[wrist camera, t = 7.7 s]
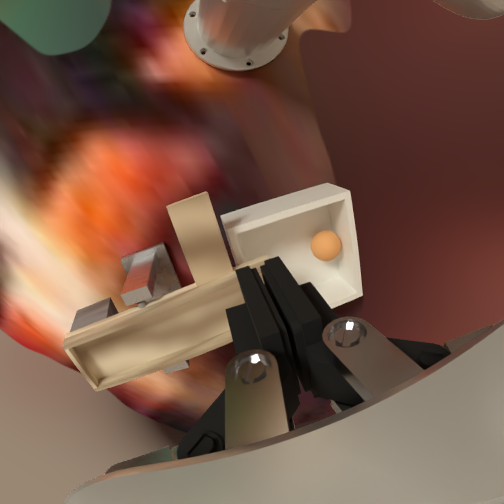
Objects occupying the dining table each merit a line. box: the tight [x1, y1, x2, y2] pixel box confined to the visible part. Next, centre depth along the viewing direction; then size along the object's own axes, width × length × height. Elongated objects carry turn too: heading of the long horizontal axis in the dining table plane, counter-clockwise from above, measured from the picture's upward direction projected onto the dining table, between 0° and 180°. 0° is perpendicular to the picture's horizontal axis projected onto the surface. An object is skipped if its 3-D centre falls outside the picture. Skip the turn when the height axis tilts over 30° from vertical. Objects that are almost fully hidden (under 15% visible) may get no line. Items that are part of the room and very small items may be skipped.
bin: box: [220, 183, 363, 309], centre depth 37 cm, size 15×15×6 cm
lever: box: [62, 192, 270, 392], centre depth 31 cm, size 16×24×8 cm, turn 106°
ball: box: [311, 230, 341, 261], centre depth 38 cm, size 4×4×4 cm
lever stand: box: [120, 242, 189, 374], centre depth 34 cm, size 13×6×10 cm, turn 16°
